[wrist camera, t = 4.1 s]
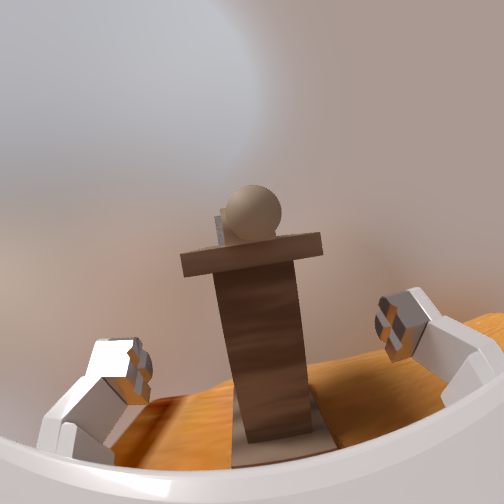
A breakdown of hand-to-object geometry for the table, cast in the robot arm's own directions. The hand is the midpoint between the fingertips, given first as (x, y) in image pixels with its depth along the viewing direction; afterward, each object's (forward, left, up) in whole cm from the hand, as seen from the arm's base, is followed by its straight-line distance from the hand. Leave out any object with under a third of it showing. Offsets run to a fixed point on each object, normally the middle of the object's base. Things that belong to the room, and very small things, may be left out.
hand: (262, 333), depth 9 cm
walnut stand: (-16, -19, -23) cm, 34 cm away
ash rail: (-11, -13, +3) cm, 17 cm away
